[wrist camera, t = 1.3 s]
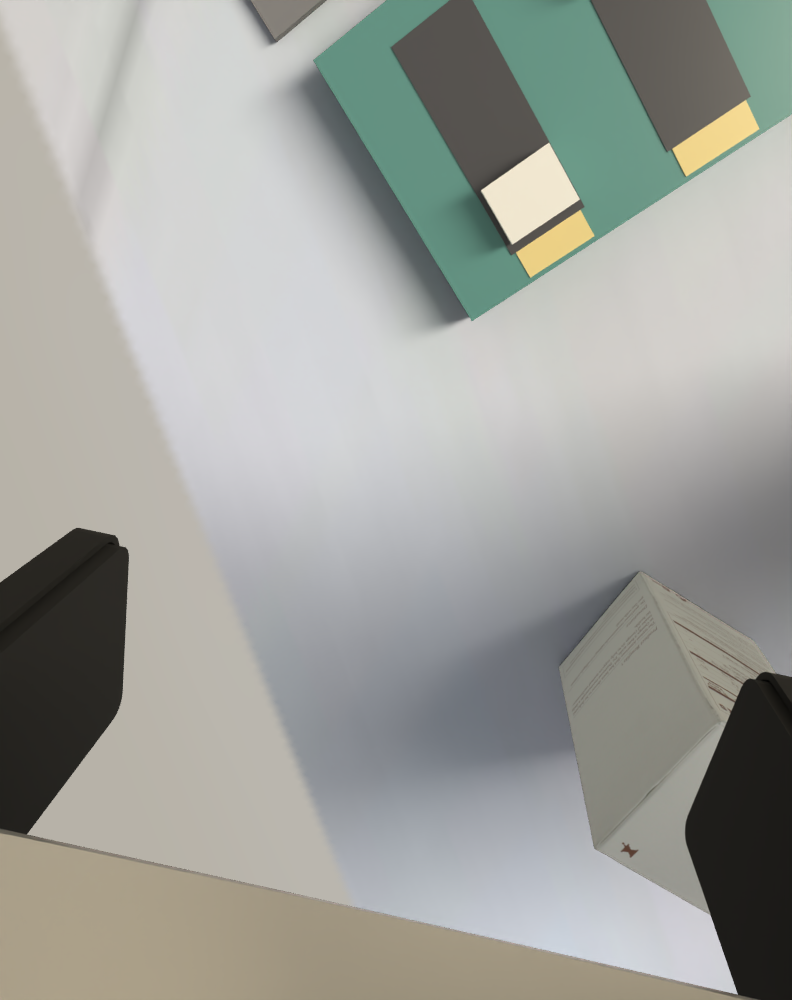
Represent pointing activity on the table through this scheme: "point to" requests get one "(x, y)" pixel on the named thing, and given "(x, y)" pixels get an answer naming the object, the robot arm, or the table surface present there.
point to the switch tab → (530, 194)
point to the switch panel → (553, 112)
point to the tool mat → (284, 14)
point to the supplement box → (652, 723)
